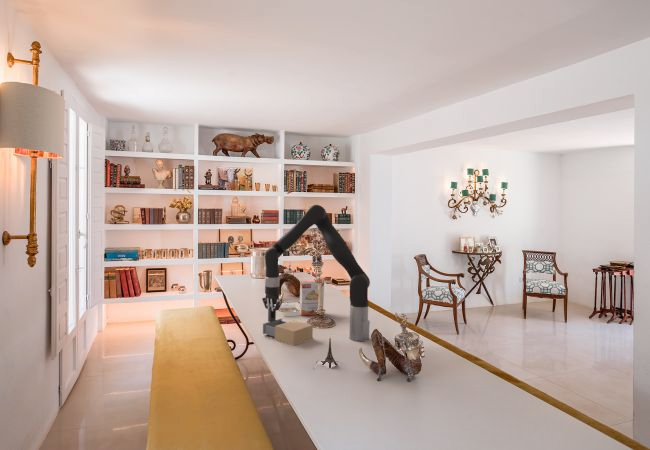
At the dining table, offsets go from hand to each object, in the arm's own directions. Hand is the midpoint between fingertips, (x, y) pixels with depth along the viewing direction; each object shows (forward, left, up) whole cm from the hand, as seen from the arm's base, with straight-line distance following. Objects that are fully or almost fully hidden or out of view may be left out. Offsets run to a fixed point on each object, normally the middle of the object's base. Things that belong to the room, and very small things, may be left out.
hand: (271, 317), depth 225 cm
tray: (-6, 0, -7) cm, 9 cm away
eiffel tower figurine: (-51, +14, -9) cm, 53 cm away
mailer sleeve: (-16, 0, -8) cm, 18 cm away
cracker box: (+8, -41, -8) cm, 43 cm away
